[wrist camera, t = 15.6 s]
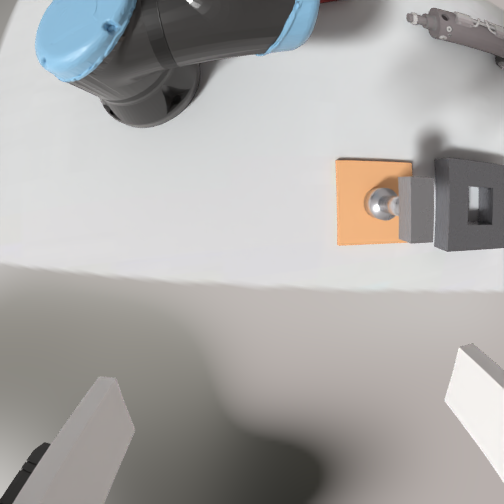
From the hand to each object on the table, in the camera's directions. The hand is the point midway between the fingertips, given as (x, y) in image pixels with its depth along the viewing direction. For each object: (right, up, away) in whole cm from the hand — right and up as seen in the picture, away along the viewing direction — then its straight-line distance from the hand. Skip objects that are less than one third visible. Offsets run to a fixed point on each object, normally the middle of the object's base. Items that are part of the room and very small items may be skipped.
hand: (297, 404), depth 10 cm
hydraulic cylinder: (+42, +44, +26) cm, 66 cm away
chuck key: (+16, +12, +32) cm, 38 cm away
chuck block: (+34, +13, +32) cm, 49 cm away
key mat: (+16, +13, +32) cm, 39 cm away
